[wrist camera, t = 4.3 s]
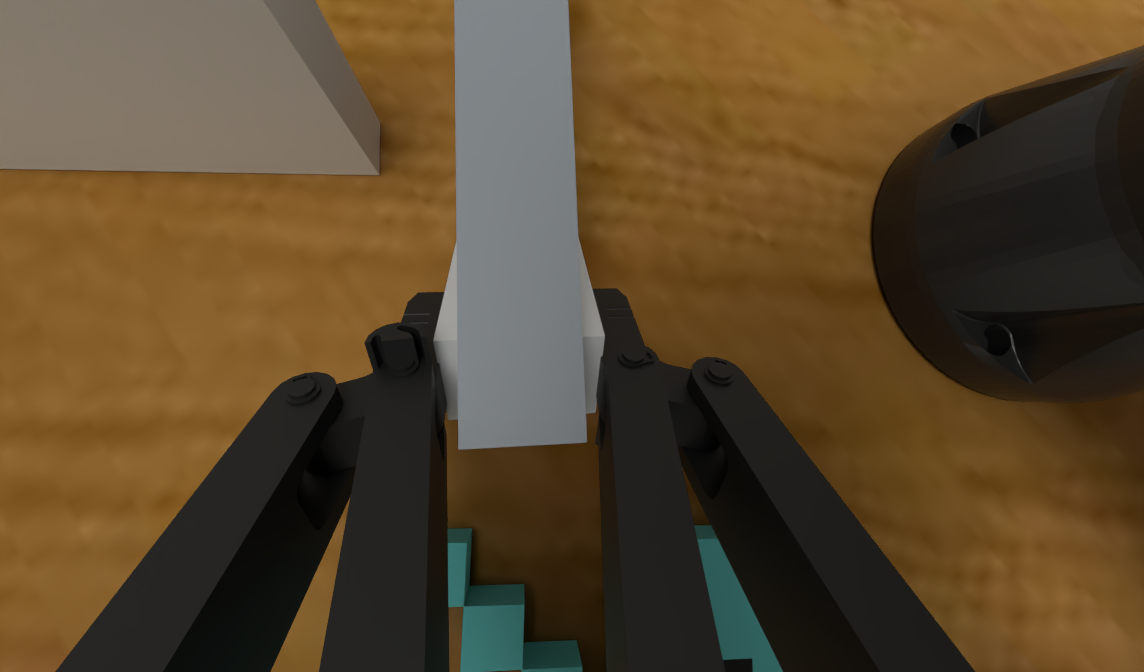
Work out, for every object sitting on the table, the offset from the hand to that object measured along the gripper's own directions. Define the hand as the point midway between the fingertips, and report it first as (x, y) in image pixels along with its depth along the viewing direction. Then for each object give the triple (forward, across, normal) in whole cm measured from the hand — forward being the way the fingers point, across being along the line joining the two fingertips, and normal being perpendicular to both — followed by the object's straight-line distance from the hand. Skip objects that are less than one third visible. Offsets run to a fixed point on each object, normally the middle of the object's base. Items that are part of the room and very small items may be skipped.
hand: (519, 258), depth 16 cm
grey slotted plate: (+5, 0, +1) cm, 5 cm away
